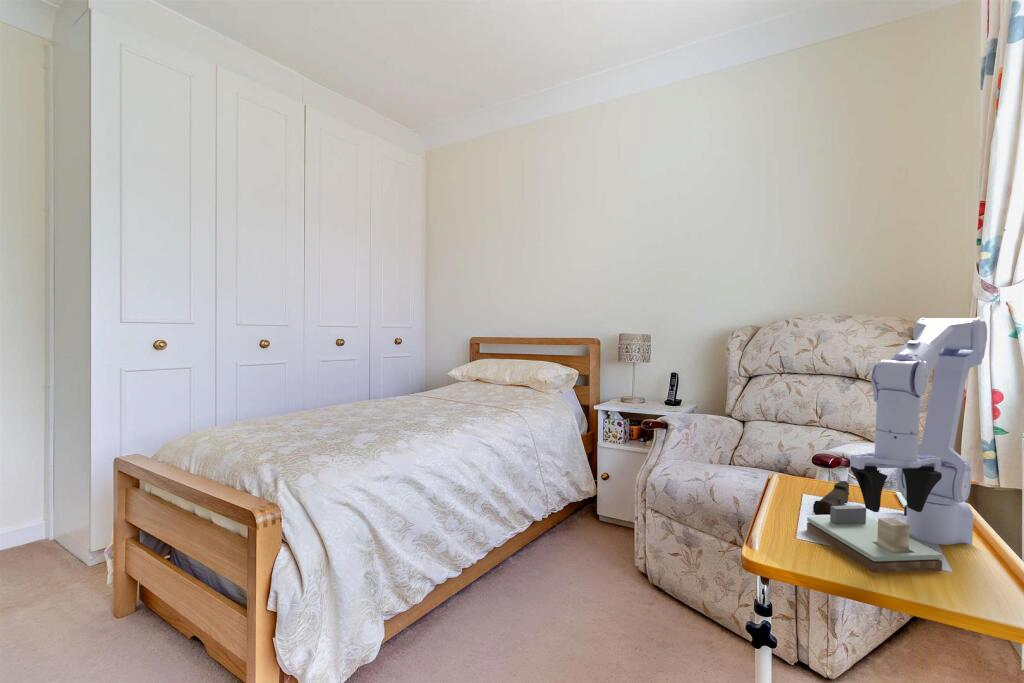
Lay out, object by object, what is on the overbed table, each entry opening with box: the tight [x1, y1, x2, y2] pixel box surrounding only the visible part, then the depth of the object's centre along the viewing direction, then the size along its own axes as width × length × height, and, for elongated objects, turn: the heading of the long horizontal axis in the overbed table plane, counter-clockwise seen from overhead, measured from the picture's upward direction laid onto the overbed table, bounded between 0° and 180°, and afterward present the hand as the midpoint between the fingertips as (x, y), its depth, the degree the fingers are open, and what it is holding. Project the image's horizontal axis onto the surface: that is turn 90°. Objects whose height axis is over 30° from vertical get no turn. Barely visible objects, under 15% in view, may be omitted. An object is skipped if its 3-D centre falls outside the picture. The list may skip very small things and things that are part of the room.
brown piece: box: [806, 521, 943, 573], centre depth 87 cm, size 12×16×3 cm
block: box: [877, 517, 911, 553], centre depth 82 cm, size 3×3×7 cm
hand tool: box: [812, 480, 850, 516], centre depth 110 cm, size 19×4×5 cm, turn 130°
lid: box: [806, 504, 943, 561], centre depth 87 cm, size 12×16×4 cm
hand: (893, 510), depth 81 cm, fingers open, 7 cm apart
